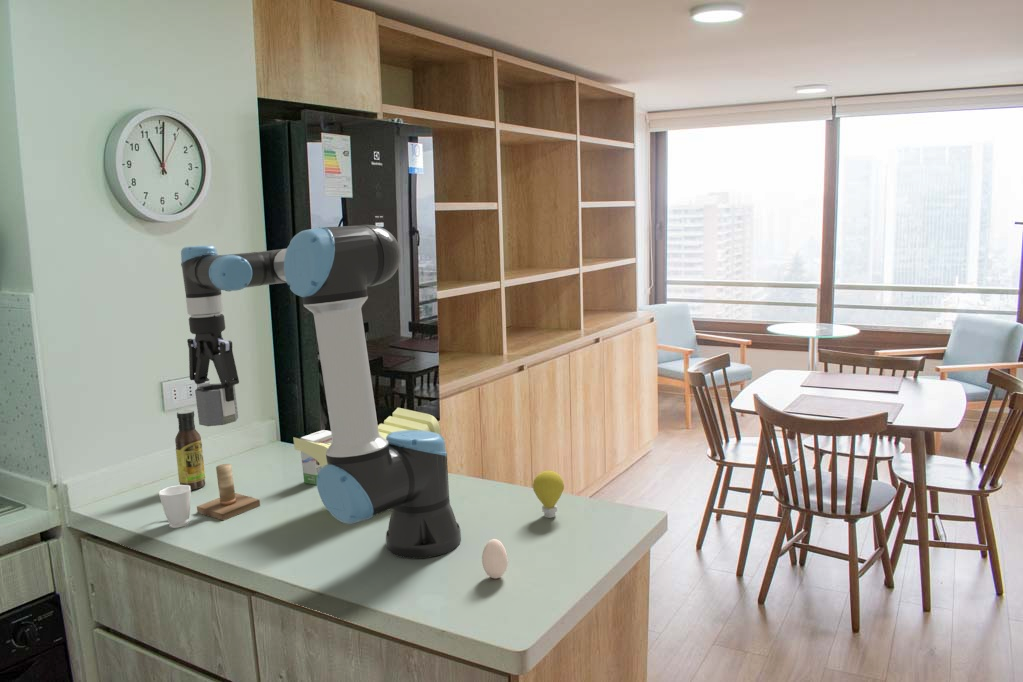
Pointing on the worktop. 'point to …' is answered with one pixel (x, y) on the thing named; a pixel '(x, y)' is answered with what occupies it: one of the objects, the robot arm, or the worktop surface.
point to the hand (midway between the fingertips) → (217, 412)
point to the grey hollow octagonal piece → (213, 406)
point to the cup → (176, 504)
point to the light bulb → (548, 491)
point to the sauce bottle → (189, 452)
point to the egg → (494, 559)
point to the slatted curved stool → (398, 422)
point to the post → (227, 497)
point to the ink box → (308, 462)
